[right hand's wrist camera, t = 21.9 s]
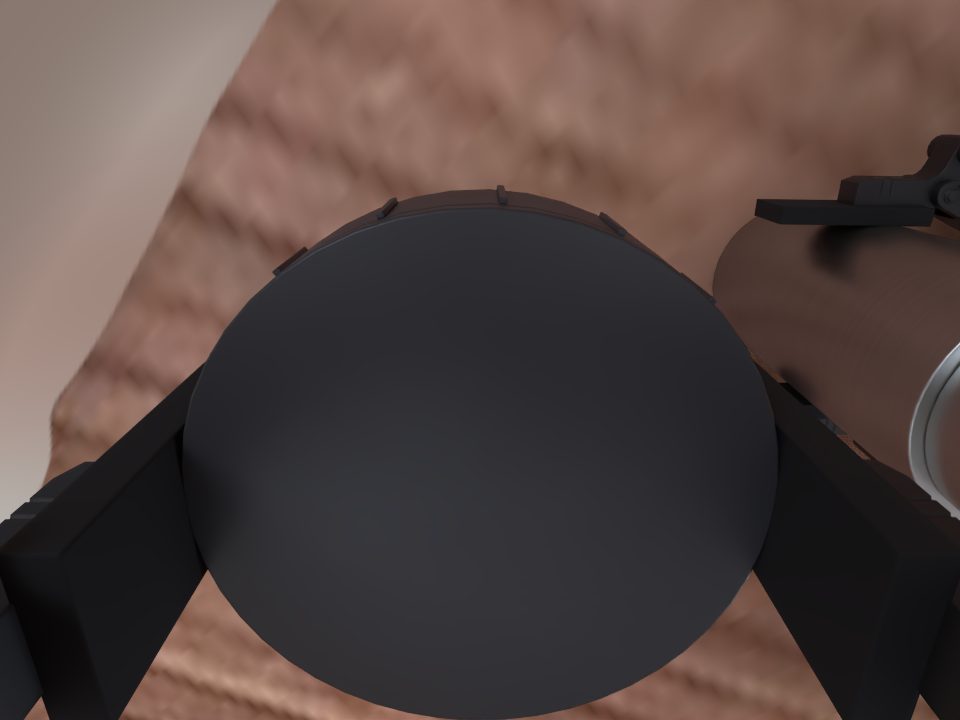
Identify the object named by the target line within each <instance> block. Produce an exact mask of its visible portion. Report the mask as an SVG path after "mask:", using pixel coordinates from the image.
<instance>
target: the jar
mask: <svg viewBox="0 0 960 720" xmlns="http://www.w3.org/2000/svg"><path fill="white" fill-rule="evenodd" d="M713 298H714V299H715V300H716V301H717V303H715V306H716V307H717V308H718V309H719V310H720V311H721V312H722V313H723V315H724V316H725V317H726V319H727V320H728V322H729V323H730V324H731V326H732V327H733V329H734V330H735V331H736V333H737V334H738V336H739V337H740V338H741V340H742V341H743V343H744V344H745V346H746V347H747V348H748V349H749V350H750V351H751V352H753V353H754V354H755V355H756V356H757V357H758V358H760V359H761V360H762V361H763V362H764V363H765V364H767V365H768V366H769V367H770V368H771V369H772V370H773V371H775V372H776V373H777V374H778V375H779V376H780V377H782V378H783V379H784V380H785V381H786V382H787V383H789V384H790V385H791V386H792V387H793V388H794V389H795V390H797V391H798V392H799V393H800V394H801V395H802V396H804V397H805V398H806V399H807V400H808V401H809V402H811V403H812V404H813V405H814V406H815V407H816V408H817V409H819V410H820V411H821V412H822V413H823V414H824V415H826V416H827V417H828V418H829V419H830V420H831V421H833V422H834V423H835V424H836V425H837V426H838V427H840V428H841V429H842V430H843V431H844V432H845V433H846V434H848V435H849V436H850V437H851V438H852V439H853V440H855V441H856V442H857V443H858V444H859V445H860V446H862V447H863V448H864V449H865V450H866V451H867V452H868V453H870V454H871V455H872V456H873V457H874V458H875V459H877V460H878V461H880V462H881V463H883V464H885V465H887V466H889V467H891V468H893V469H895V470H897V471H899V472H901V473H903V474H904V475H906V476H908V477H909V478H911V479H912V480H913V481H914V482H915V483H917V484H918V485H919V486H920V487H921V488H922V489H924V490H925V491H926V492H927V493H928V494H929V495H931V499H932V500H937V501H938V502H939V503H940V504H941V505H942V506H944V507H945V508H946V509H947V510H948V511H949V512H951V517H957V518H958V519H959V520H960V242H959V241H955V240H951V239H947V238H944V237H940V236H936V235H932V234H928V233H924V232H920V231H916V230H913V229H909V228H905V227H901V226H852V225H780V224H777V223H774V222H771V221H769V220H766V219H763V218H760V217H756V218H755V219H753V220H752V221H750V222H749V223H748V224H746V225H745V226H744V227H743V228H742V229H741V230H740V231H739V232H738V233H737V234H736V235H735V236H734V237H733V238H732V240H731V241H730V242H729V244H728V245H727V246H726V248H725V250H724V251H723V253H722V255H721V257H720V260H719V262H718V264H717V268H716V271H715V275H714V281H713Z"/></svg>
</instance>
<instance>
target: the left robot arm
mask: <svg viewBox="0 0 960 720" xmlns="http://www.w3.org/2000/svg"><path fill="white" fill-rule="evenodd" d="M927 154H928V157H929V158H928V160H927V162H926V163H925V165H924V166H923V167H922V169H921V170H920V171H918V172H917V173H915V174H914V175H904V176H852V177H849V178H846V179H843V180H841V185H840V190H839V194H838V199H837V200H785V199H757V203H756V209H755V216H757V217H760V218H763V219H766V220H769V221H771V222H774V223H777V224H780V225H852V226H926V227H930V226H931V222H932V219H933V216H934V217H935V218H937V219H939V220H941V221H942V222H944V223H946V224H948V225H949V226H951V227H953V228H955V229H956V230H958V231H960V135H940V136H937V137H936V138H934V139H933V140H932V141H931V143H930V144H929V146H928V150H927ZM779 384H780V385H781V386H782V387H783V388H785V389H786V390H787V391H788V392H789V393H790V394H791V395H792V396H793V397H794V398H796V399H797V400H798V401H799V402H800V403H801V404H802V405H803V406H804V407H805V408H807V409H808V410H809V411H810V412H811V413H812V414H813V415H814V416H815V417H816V418H818V419H819V420H820V421H821V422H822V423H823V424H824V425H825V426H826V427H828V428H829V429H830V430H831V431H832V432H833V433H834V434H846V433H845V432H844V431H843V430H842V429H841V428H840V427H838V426H837V425H836V424H835V423H834V422H833V421H831V420H830V419H829V418H828V417H827V416H826V415H824V414H823V413H822V412H821V411H820V410H819V409H817V408H816V407H815V406H814V405H813V404H812V403H811V402H809V401H808V400H807V399H806V398H805V397H804V396H802V395H801V394H800V393H799V392H798V391H797V390H795V389H794V388H793V387H792V386H791V385H790V384H789V383H779ZM853 442H854V444H855V445H856V447H858V448H859V449H860V450H861V451H862V452H863V453H864V454H866V455H867V456H868V457H869V458H870V459H871V460H877V459H875V458H874V457H873V456H872V455H871V454H870V453H868V452H867V451H866V450H865V449H864V448H863V447H862V446H860V445H859V444H858V443H857V442H856V441H855V440H853Z"/></svg>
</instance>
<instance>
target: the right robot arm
mask: <svg viewBox="0 0 960 720" xmlns="http://www.w3.org/2000/svg"><path fill="white" fill-rule="evenodd" d="M753 361H754V360H753ZM754 363H755V365H756V367H757V369H758V371H759V373H760V375H761V377H762V380H763V383H764V386H765V389H766V392H767V395H768V398H769V402H770V405H771V408H772V411H773V415H774V422H775V429H776V435H777V442H778V487H777V493H776V498H775V503H774V508H773V513H772V518H771V522H770V526H769V530H768V533H767V536H766V539H765V542H764V545H763V548H762V550H761V552H760V554H759V556H758V558H757V561H756V563H755V565H754V567H753V571H754V572H755V574H756V576H757V577H758V579H759V581H760V582H761V584H762V586H763V587H764V589H765V591H766V592H767V594H768V596H769V597H770V599H771V601H772V603H773V604H774V606H775V608H776V609H777V611H778V613H779V614H780V616H781V618H782V619H783V621H784V623H785V624H786V626H787V628H788V629H789V631H790V633H791V634H792V636H793V638H794V639H795V641H796V643H797V644H798V646H799V648H800V649H801V651H802V653H803V655H804V656H805V658H806V660H807V661H808V663H809V665H810V666H811V668H812V670H813V671H814V673H815V675H816V676H817V678H818V680H819V681H820V683H821V685H822V686H823V688H824V690H825V691H826V693H827V695H828V696H829V698H830V700H831V701H832V703H833V705H834V707H835V708H836V710H837V712H838V713H839V715H840V717H841V718H842V720H911V718H912V715H913V712H914V709H915V706H916V703H917V700H918V697H919V695H920V694H921V696H922V697H923V698H924V700H925V701H926V702H927V704H928V705H929V706H930V707H931V709H932V710H933V711H934V713H935V714H936V715H937V717H938V718H939V719H940V720H960V520H959V519H958V518H957V517H951V512H949V511H948V510H947V509H946V508H945V507H944V506H942V505H941V504H940V503H939V502H938V501H937V500H932V499H931V495H929V494H928V493H927V492H926V491H925V490H924V489H922V488H921V487H920V486H919V485H918V484H917V483H915V482H914V481H913V480H912V479H911V478H909V477H908V476H906V475H904V474H903V473H901V472H899V471H897V470H895V469H893V468H891V467H889V466H887V465H885V464H883V463H881V462H880V461H878V460H863V459H862V458H861V457H859V456H858V455H857V454H856V453H855V452H854V451H853V450H852V449H851V448H850V447H848V446H847V445H846V444H845V443H844V442H843V441H842V440H841V439H840V438H839V437H837V436H836V435H835V434H834V433H833V432H832V431H831V430H830V429H829V428H828V427H826V426H825V425H824V424H823V423H822V422H821V421H820V420H819V419H818V418H816V417H815V416H814V415H813V414H812V413H811V412H810V411H809V410H808V409H807V408H805V407H804V406H803V405H802V404H801V403H800V402H799V401H798V400H797V399H796V398H794V397H793V396H792V395H791V394H790V393H789V392H788V391H787V390H786V389H785V388H783V387H782V386H781V385H780V384H779V383H778V382H777V381H776V380H775V379H774V378H772V377H771V376H770V375H769V374H768V373H767V372H766V371H765V370H764V369H762V368H761V367H760V366H759V365H758V364H757V363H756V362H755V361H754ZM204 364H205V363H203V364H202V365H201V366H200V367H199V368H198V369H197V370H196V371H195V372H194V373H192V374H191V375H190V376H189V377H188V378H187V379H186V380H185V381H184V382H183V383H181V384H180V385H179V386H178V387H177V388H176V389H175V390H174V391H173V392H171V393H170V394H169V395H168V396H167V397H166V398H165V399H164V400H163V401H162V402H160V403H159V404H158V405H157V406H156V407H155V408H154V409H153V410H152V411H151V412H149V413H148V414H147V415H146V416H145V417H144V418H143V419H142V420H141V421H140V422H138V423H137V424H136V425H135V426H134V427H133V428H132V429H131V430H130V431H129V432H127V433H126V434H125V435H124V436H123V437H122V438H121V439H120V440H119V441H118V442H116V443H115V444H114V445H113V446H112V447H111V448H110V449H109V450H108V451H106V452H105V453H104V454H103V455H102V456H101V457H100V458H99V459H98V460H97V461H95V462H84V463H82V464H80V465H78V466H76V467H74V468H72V469H70V470H68V471H67V472H65V473H63V474H61V475H59V476H57V477H55V478H53V479H52V480H51V481H50V482H48V483H47V484H46V485H45V486H44V487H43V488H41V489H40V490H39V491H38V492H37V493H36V494H34V495H33V496H32V497H31V498H30V502H25V503H24V504H23V505H22V506H20V507H19V508H18V509H17V510H16V511H15V512H13V513H12V514H11V517H10V519H5V520H4V521H3V522H2V523H1V524H0V720H24V718H25V717H26V716H27V714H28V713H29V712H30V710H31V709H32V708H33V706H34V705H35V704H36V702H37V701H38V700H39V698H40V697H41V696H42V699H43V702H44V705H45V707H46V710H47V713H48V716H49V719H50V720H118V719H119V717H120V716H121V714H122V712H123V711H124V709H125V707H126V706H127V704H128V702H129V701H130V699H131V697H132V695H133V694H134V692H135V690H136V689H137V687H138V685H139V684H140V682H141V680H142V679H143V677H144V675H145V674H146V672H147V670H148V669H149V667H150V665H151V664H152V662H153V660H154V659H155V657H156V655H157V654H158V652H159V650H160V649H161V647H162V645H163V643H164V642H165V640H166V638H167V637H168V635H169V633H170V632H171V630H172V628H173V627H174V625H175V623H176V622H177V620H178V618H179V617H180V615H181V613H182V612H183V610H184V608H185V607H186V605H187V603H188V602H189V600H190V598H191V596H192V595H193V593H194V591H195V590H196V588H197V586H198V585H199V583H200V581H201V580H202V578H203V576H204V575H205V573H206V571H207V570H208V568H207V567H206V565H205V563H204V561H203V558H202V556H201V553H200V551H199V548H198V546H197V543H196V541H195V538H194V536H193V534H192V529H191V524H190V520H189V515H188V510H187V505H186V501H185V495H184V489H183V481H182V469H181V463H182V448H183V433H184V427H185V423H186V419H187V414H188V410H189V405H190V401H191V397H192V394H193V392H194V389H195V387H196V384H197V382H198V379H199V377H200V374H201V372H202V369H203V367H204Z"/></svg>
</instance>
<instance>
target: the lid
mask: <svg viewBox="0 0 960 720" xmlns="http://www.w3.org/2000/svg"><path fill="white" fill-rule="evenodd" d="M273 274H274V275H275V276H276V277H275V278H274V279H273V280H271V281H270V282H269V283H268V284H267V285H266V286H265V287H264V288H262V289H261V290H260V291H259V292H258V293H257V294H256V295H255V296H254V297H252V298H251V299H250V300H249V301H248V303H247V304H246V305H245V306H244V307H243V309H242V310H241V311H240V312H239V313H238V315H237V316H236V317H235V318H234V320H233V321H232V322H231V323H230V324H229V326H228V327H227V328H226V329H225V330H224V332H223V334H222V335H221V337H220V339H219V340H218V342H217V344H216V345H215V347H214V349H213V350H212V352H211V353H210V355H209V357H208V359H207V361H206V362H205V364H204V367H203V369H202V372H201V374H200V377H199V379H198V382H197V384H196V387H195V389H194V392H193V394H192V397H191V401H190V405H189V410H188V414H187V419H186V423H185V427H184V433H183V448H182V463H181V469H182V481H183V489H184V495H185V501H186V505H187V510H188V515H189V520H190V524H191V529H192V534H193V536H194V538H195V541H196V543H197V546H198V548H199V551H200V553H201V556H202V558H203V561H204V563H205V565H206V567H207V568H208V570H209V572H210V574H211V575H212V577H213V579H214V581H215V582H216V584H217V586H218V588H219V589H220V591H221V592H222V594H223V595H224V596H225V598H226V599H227V600H228V602H229V603H230V604H231V605H232V607H233V608H234V609H235V611H236V612H237V613H238V615H239V616H240V617H241V618H242V619H243V620H244V621H245V622H246V623H247V624H248V625H249V626H250V627H251V628H252V629H253V630H254V632H255V633H256V634H257V635H258V636H259V637H260V638H261V639H262V640H263V641H265V642H266V643H267V644H268V645H270V646H271V647H272V648H273V649H275V650H276V651H277V652H278V653H280V654H281V655H282V656H283V657H284V658H286V659H287V660H288V661H290V662H291V663H293V664H294V665H296V666H298V667H299V668H301V669H302V670H304V671H305V672H307V673H309V674H310V675H312V676H313V677H315V678H317V679H319V680H321V681H323V682H325V683H327V684H329V685H331V686H333V687H335V688H337V689H339V690H341V691H343V692H345V693H347V694H350V695H353V696H355V697H358V698H361V699H363V700H366V701H369V702H371V703H374V704H377V705H381V706H384V707H388V708H392V709H396V710H399V711H403V712H407V713H413V714H419V715H425V716H431V717H437V718H447V719H461V720H504V719H513V718H522V717H530V716H538V715H543V714H547V713H552V712H556V711H561V710H566V709H570V708H573V707H576V706H579V705H582V704H586V703H589V702H592V701H595V700H598V699H601V698H603V697H606V696H608V695H610V694H612V693H615V692H617V691H619V690H622V689H624V688H626V687H628V686H631V685H633V684H634V683H636V682H638V681H640V680H641V679H643V678H645V677H647V676H648V675H650V674H652V673H654V672H655V671H657V670H659V669H660V668H662V667H663V666H665V665H666V664H667V663H669V662H670V661H671V660H673V659H674V658H676V657H677V656H678V655H680V654H681V653H683V652H684V651H685V650H686V649H688V648H689V647H690V646H691V645H692V644H693V643H694V642H695V641H696V640H697V639H699V638H700V637H701V636H702V635H703V634H704V633H705V632H706V631H707V630H708V629H709V628H710V627H711V626H712V625H713V624H714V623H715V622H716V620H717V619H718V618H719V617H720V616H721V615H722V613H723V612H724V611H725V610H726V609H727V608H728V606H729V605H730V604H731V603H732V601H733V600H734V598H735V597H736V595H737V594H738V592H739V591H740V589H741V588H742V586H743V585H744V583H745V582H746V580H747V578H748V577H749V575H750V573H751V571H752V569H753V567H754V565H755V563H756V561H757V558H758V556H759V554H760V552H761V550H762V548H763V545H764V542H765V539H766V536H767V533H768V530H769V526H770V522H771V518H772V513H773V508H774V503H775V498H776V493H777V487H778V442H777V435H776V429H775V422H774V415H773V411H772V408H771V405H770V402H769V398H768V395H767V392H766V389H765V386H764V383H763V380H762V377H761V375H760V373H759V371H758V369H757V367H756V365H755V363H754V361H753V359H752V357H751V355H750V353H749V351H748V349H747V347H746V346H745V344H744V343H743V341H742V340H741V338H740V337H739V336H738V334H737V333H736V331H735V330H734V329H733V327H732V326H731V324H730V323H729V322H728V320H727V319H726V317H725V316H724V315H723V313H722V312H721V311H720V310H719V309H718V308H717V307H716V306H715V305H714V304H715V303H717V301H716V300H715V299H714V298H713V297H712V296H711V295H710V294H708V293H707V292H706V291H705V290H703V289H702V288H701V287H700V286H698V285H697V284H696V283H694V282H693V281H692V280H691V279H689V278H688V277H687V276H686V275H684V274H683V273H679V272H678V271H677V270H676V269H674V268H673V267H672V266H671V265H669V264H668V263H667V262H666V261H664V260H663V259H662V258H661V257H659V256H658V255H657V254H656V253H654V252H653V251H652V250H650V249H649V248H648V247H646V246H645V245H644V244H643V243H641V242H640V241H639V240H637V239H636V238H635V237H633V236H632V235H631V234H629V233H628V232H627V231H626V230H625V229H624V228H623V227H621V226H620V225H619V224H618V223H617V222H615V221H614V220H613V219H612V218H610V217H609V216H608V215H607V214H605V213H603V212H601V213H600V215H599V216H598V215H595V214H593V213H590V212H588V211H585V210H583V209H580V208H577V207H575V206H572V205H570V204H567V203H565V202H561V201H557V200H553V199H549V198H545V197H541V196H536V195H532V194H528V193H520V192H510V191H505V188H504V186H502V185H497V190H490V189H486V190H459V191H447V192H441V193H435V194H430V195H424V196H418V197H413V198H410V199H407V200H404V201H400V202H398V201H397V198H396V197H395V198H392V199H390V200H389V201H388V202H387V203H386V204H385V205H384V206H383V207H382V208H379V209H376V210H374V211H372V212H370V213H368V214H366V215H364V216H362V217H360V218H358V219H356V220H353V221H351V222H349V223H347V224H345V225H344V226H342V227H341V228H339V229H338V230H336V231H335V232H333V233H332V234H330V235H329V236H327V237H326V238H324V239H323V240H321V241H320V242H318V243H317V244H315V245H314V246H313V247H312V248H310V249H309V250H308V249H307V248H306V247H304V248H302V249H301V250H300V251H298V252H297V253H296V254H294V255H293V256H292V257H290V258H289V259H288V260H286V261H285V262H284V263H283V264H281V265H280V266H279V267H277V268H276V269H275V270H274V271H273Z"/></svg>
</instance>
